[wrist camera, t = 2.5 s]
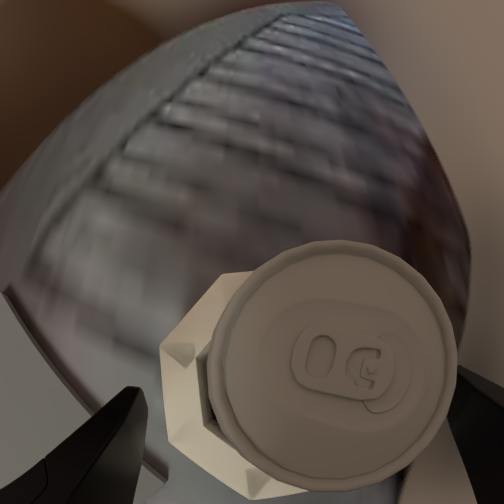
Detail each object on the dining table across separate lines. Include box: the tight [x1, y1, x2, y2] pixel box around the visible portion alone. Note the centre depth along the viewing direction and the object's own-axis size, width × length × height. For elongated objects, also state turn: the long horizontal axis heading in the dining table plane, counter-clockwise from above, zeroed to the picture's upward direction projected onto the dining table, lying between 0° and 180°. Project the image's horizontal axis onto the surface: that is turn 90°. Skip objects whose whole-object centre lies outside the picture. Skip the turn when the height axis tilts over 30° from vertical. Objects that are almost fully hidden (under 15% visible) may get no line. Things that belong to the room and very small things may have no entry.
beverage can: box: [206, 240, 457, 492], centre depth 10 cm, size 5×5×12 cm
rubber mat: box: [0, 292, 167, 504], centre depth 12 cm, size 16×14×1 cm
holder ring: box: [159, 271, 307, 500], centre depth 14 cm, size 10×10×4 cm
